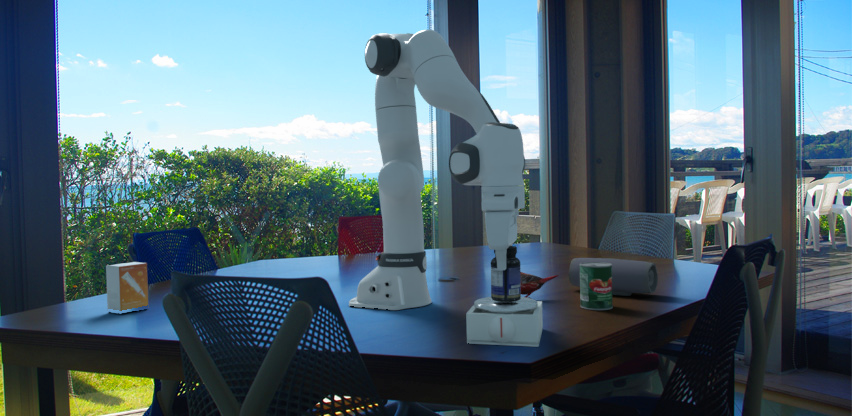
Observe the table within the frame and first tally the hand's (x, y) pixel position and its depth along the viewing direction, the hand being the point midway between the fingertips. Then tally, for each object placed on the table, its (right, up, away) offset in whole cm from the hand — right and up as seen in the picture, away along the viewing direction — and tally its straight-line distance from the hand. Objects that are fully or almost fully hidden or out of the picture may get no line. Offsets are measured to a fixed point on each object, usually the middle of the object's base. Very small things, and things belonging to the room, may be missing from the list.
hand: (504, 267), depth 115 cm
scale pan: (0, -11, 0) cm, 11 cm away
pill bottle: (0, -7, 0) cm, 7 cm away
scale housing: (0, -14, 0) cm, 14 cm away
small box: (-98, -16, +36) cm, 105 cm away
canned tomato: (+27, -13, +25) cm, 39 cm away
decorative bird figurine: (+12, -13, +36) cm, 41 cm away
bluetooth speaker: (+37, -12, +42) cm, 57 cm away
